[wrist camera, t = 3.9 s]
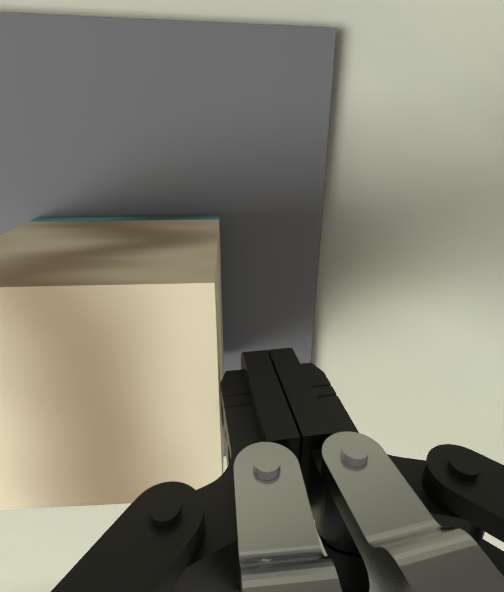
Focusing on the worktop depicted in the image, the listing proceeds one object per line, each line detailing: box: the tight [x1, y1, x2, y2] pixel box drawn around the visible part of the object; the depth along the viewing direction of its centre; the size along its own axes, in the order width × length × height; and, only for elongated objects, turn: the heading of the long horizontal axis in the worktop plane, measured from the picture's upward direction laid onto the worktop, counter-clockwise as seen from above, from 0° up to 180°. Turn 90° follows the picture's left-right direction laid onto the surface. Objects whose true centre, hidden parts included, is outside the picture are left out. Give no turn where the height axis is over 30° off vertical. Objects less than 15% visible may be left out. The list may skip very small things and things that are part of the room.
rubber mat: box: [0, 12, 336, 456], centre depth 16 cm, size 27×20×1 cm
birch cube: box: [0, 216, 224, 510], centre depth 13 cm, size 7×7×7 cm
